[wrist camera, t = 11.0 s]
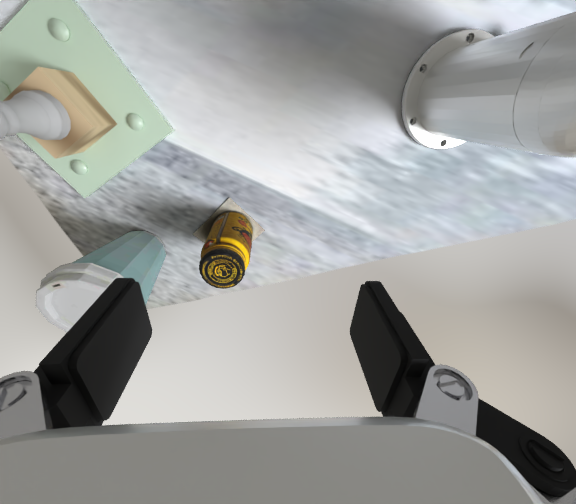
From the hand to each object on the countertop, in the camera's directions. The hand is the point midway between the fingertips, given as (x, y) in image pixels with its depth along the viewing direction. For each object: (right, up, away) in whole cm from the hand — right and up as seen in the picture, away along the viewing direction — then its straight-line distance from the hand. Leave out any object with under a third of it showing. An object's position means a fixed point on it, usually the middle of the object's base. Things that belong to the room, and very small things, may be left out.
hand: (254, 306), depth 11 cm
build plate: (-24, +20, +20) cm, 37 cm away
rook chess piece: (-23, +16, +15) cm, 32 cm away
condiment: (-8, +6, +29) cm, 31 cm away
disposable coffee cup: (-21, +3, +30) cm, 37 cm away
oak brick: (-23, +19, +19) cm, 36 cm away
